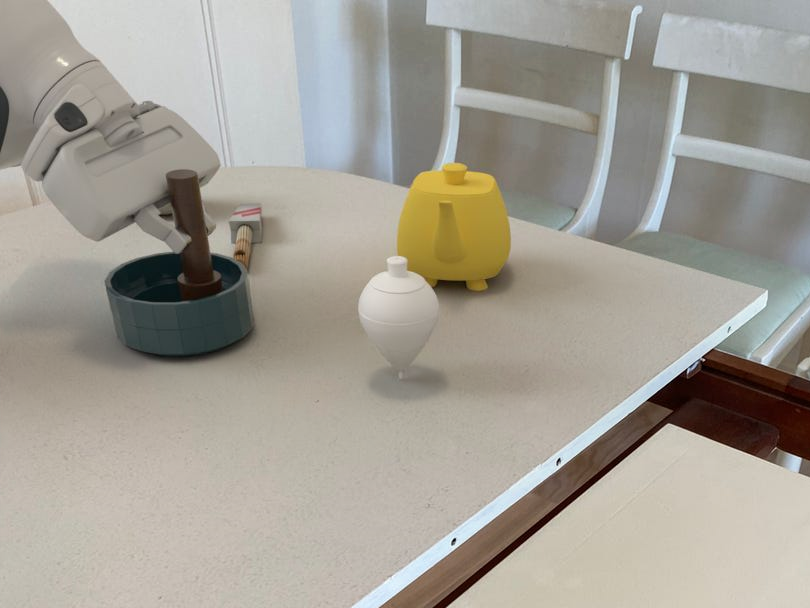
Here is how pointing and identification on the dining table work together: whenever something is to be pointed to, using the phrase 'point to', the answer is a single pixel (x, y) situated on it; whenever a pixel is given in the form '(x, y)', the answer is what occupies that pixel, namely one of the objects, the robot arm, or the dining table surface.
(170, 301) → the bowl
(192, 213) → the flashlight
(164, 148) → the robot arm
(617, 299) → the dining table surface
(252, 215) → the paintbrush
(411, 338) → the spinning top
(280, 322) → the dining table surface
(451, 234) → the teapot
